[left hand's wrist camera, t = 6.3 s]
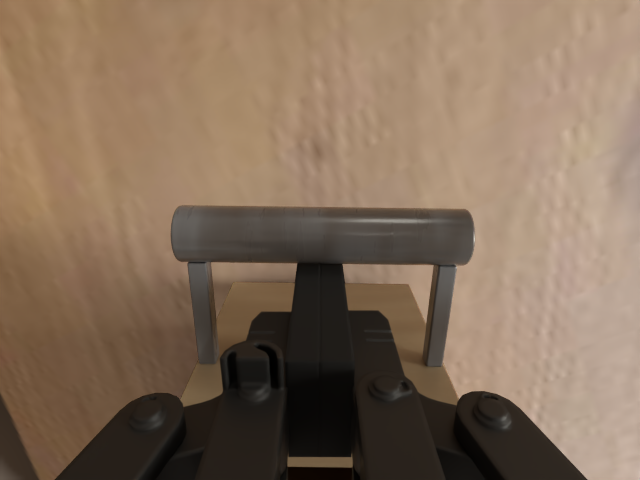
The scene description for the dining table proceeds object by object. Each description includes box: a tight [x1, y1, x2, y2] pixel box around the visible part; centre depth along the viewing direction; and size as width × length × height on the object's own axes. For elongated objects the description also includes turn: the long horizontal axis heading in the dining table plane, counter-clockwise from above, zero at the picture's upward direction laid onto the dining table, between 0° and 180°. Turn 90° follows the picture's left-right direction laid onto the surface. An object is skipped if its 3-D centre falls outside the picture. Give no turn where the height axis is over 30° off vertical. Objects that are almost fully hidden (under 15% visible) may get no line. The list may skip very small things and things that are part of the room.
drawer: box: [171, 205, 475, 480], centre depth 18 cm, size 23×9×10 cm, turn 179°
